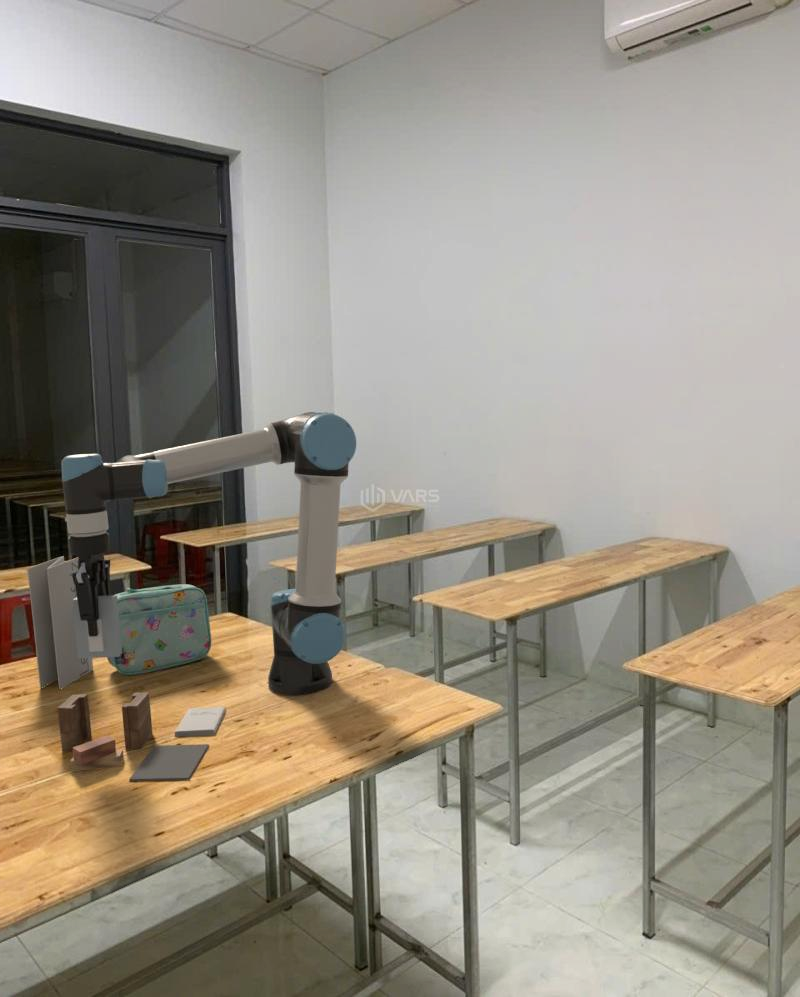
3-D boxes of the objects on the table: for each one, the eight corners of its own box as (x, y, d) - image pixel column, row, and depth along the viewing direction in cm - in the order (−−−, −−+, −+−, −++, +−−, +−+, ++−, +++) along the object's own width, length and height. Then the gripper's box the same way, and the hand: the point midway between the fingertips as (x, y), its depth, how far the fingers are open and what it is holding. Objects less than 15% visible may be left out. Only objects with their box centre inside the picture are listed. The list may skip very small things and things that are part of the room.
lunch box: (109, 682, 202) (102, 598, 200) (101, 670, 211) (94, 589, 208) (215, 660, 216) (209, 581, 213) (203, 650, 224) (198, 574, 222)
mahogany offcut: (108, 747, 160) (107, 735, 160) (116, 751, 158) (115, 739, 158) (73, 760, 155) (72, 747, 155) (81, 764, 153) (79, 752, 153)
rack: (153, 733, 171) (149, 692, 170) (140, 749, 164) (136, 706, 162) (77, 735, 172) (73, 694, 170) (61, 751, 164) (56, 708, 163)
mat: (208, 746, 164) (208, 744, 164) (188, 779, 150) (188, 777, 150) (154, 747, 164) (154, 745, 164) (129, 781, 150) (129, 779, 150)
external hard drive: (174, 738, 169) (188, 714, 182) (214, 736, 170) (225, 712, 182) (174, 731, 169) (188, 707, 182) (214, 729, 169) (225, 705, 182)
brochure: (60, 690, 199) (47, 568, 194) (39, 689, 200) (27, 568, 196) (93, 669, 212) (82, 556, 208) (74, 669, 213) (62, 555, 209)
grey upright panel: (122, 652, 166) (116, 595, 164) (118, 656, 164) (112, 598, 162) (83, 654, 166) (77, 596, 165) (78, 658, 164) (72, 599, 162)
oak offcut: (123, 761, 160) (122, 749, 159) (121, 768, 157) (119, 756, 156) (75, 766, 158) (74, 753, 158) (71, 773, 155) (70, 760, 155)
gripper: (85, 526, 169) (96, 636, 173) (52, 541, 154) (64, 662, 157) (121, 525, 169) (132, 635, 172) (91, 539, 154) (103, 660, 157)
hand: (100, 648), depth 165 cm, fingers closed on grey upright panel, 2 cm apart
